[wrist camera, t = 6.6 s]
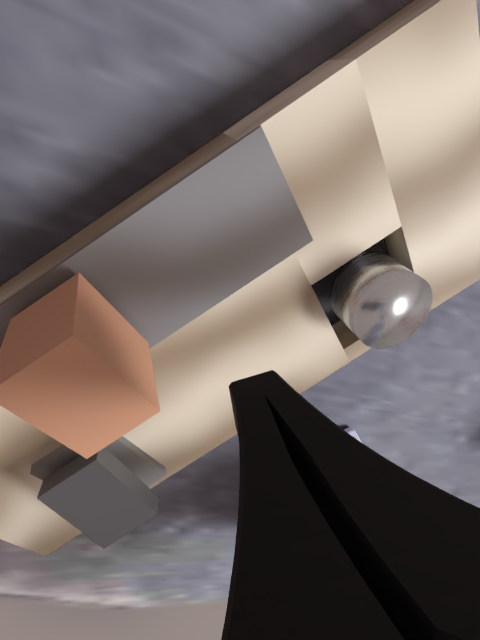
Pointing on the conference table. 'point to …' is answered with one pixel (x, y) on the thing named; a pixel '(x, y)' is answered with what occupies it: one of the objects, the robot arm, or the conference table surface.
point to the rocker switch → (99, 497)
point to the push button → (380, 300)
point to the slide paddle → (77, 369)
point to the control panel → (270, 244)
